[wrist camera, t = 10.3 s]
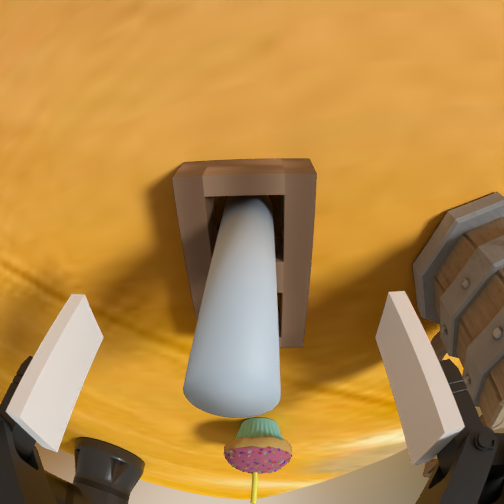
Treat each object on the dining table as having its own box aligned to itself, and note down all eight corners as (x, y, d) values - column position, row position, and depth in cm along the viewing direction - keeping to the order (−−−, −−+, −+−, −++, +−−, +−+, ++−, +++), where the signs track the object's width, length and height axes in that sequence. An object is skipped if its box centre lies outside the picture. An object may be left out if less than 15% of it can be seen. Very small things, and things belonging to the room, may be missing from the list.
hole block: (207, 321, 27) (202, 347, 25) (183, 162, 20) (171, 177, 17) (300, 321, 27) (302, 347, 24) (309, 158, 19) (316, 173, 17)
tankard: (468, 169, 19) (610, 299, 6) (539, 230, 21) (628, 335, 8) (343, 350, 29) (368, 497, 16) (429, 367, 31) (464, 480, 19)
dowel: (226, 230, 22) (192, 415, 11) (223, 187, 21) (173, 366, 9) (272, 229, 22) (279, 417, 11) (272, 186, 21) (282, 368, 9)
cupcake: (281, 438, 40) (282, 512, 30) (223, 433, 40) (216, 508, 30) (298, 412, 36) (302, 500, 26) (230, 406, 35) (222, 497, 25)
